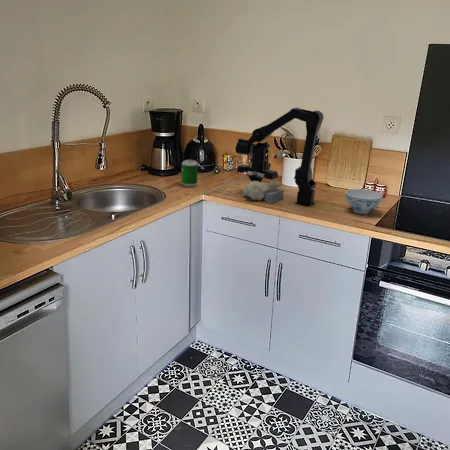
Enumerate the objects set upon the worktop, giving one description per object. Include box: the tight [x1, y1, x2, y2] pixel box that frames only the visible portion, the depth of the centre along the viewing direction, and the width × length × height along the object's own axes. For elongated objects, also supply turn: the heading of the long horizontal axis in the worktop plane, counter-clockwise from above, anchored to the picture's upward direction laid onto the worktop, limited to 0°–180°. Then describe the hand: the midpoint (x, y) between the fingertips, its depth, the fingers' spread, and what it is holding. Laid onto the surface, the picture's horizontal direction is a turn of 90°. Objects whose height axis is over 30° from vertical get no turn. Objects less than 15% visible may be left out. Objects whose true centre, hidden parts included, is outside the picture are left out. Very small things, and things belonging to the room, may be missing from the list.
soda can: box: [181, 159, 199, 188], centre depth 220 cm, size 8×8×12 cm
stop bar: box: [264, 188, 284, 205], centre depth 203 cm, size 3×11×4 cm, turn 145°
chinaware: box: [344, 188, 383, 215], centre depth 193 cm, size 15×15×8 cm
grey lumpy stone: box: [242, 179, 282, 202], centre depth 204 cm, size 15×7×15 cm
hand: (255, 190), depth 210 cm, fingers closed
